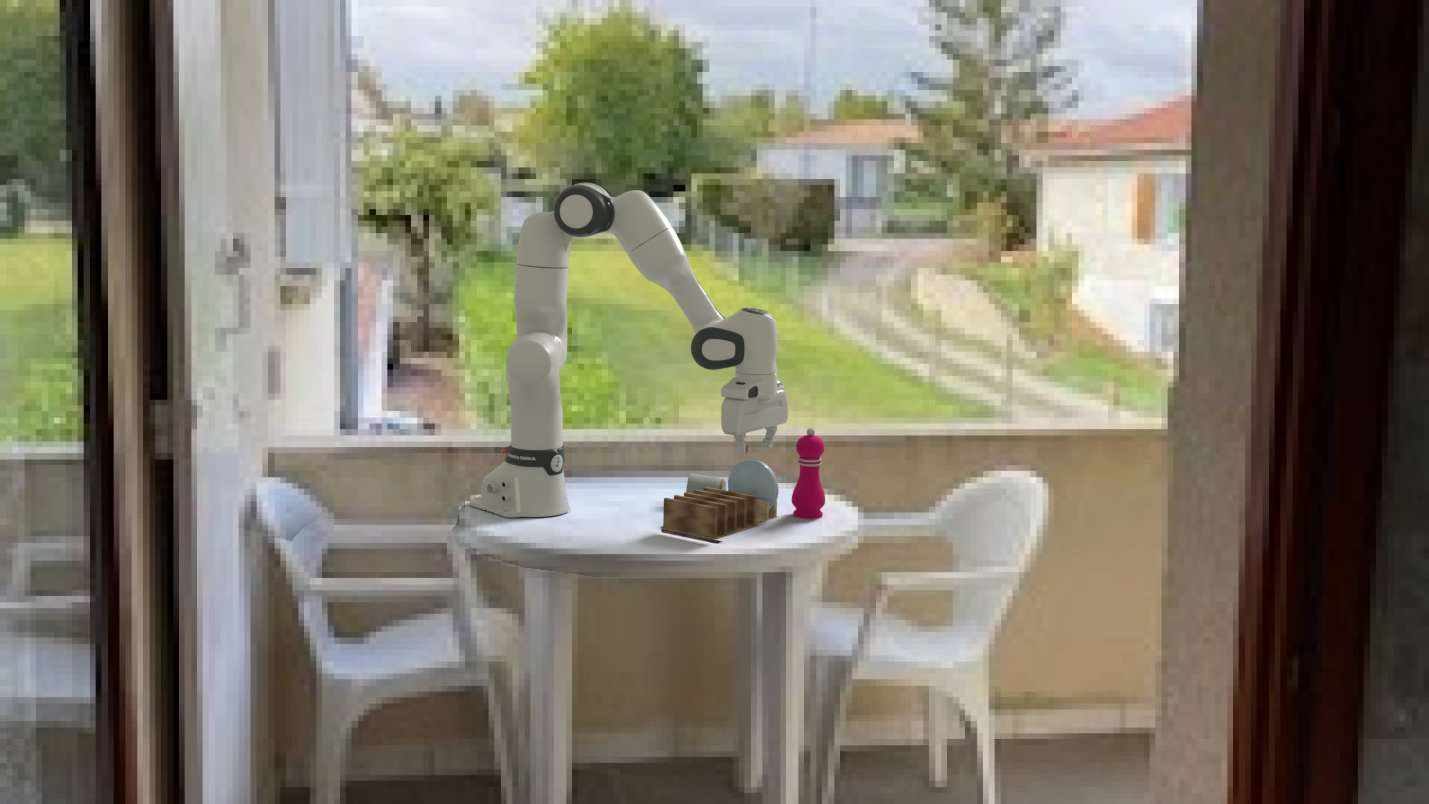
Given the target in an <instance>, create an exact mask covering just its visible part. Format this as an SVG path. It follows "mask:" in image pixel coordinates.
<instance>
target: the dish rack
mask: <svg viewBox="0 0 1429 804" xmlns="http://www.w3.org/2000/svg"><path fill="white" fill-rule="evenodd" d="M662 517H663V518H662V520H663V521H662V522H663V523H662V525H663V526H662V525H661V529H660V531H661V533H663V534H668V535H673V536H678V537H682V538H687V539H693V540H698V541H702V542H707V543H709V544H716V545H718V544H720V543H723V542H724V541H723V540H718V539H721V538H724V537H727V536H730V535H733V534H737V533H739V532H742V531H743V532H744V531H746V530H748V529H751V528H755V527H758V524H756V521H757V520H756V496H753V495H748V494H742V493H737V492H731V491H728V490H727V489H726V490H720V489H715V488H709V487H703V491H702V490H694V493H688V492H686V491H685V492H683V495H679V494H674V495H673V498H670V497H663V516H662Z"/></svg>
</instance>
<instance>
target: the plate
mask: <svg viewBox="0 0 1429 804" xmlns="http://www.w3.org/2000/svg"><path fill="white" fill-rule="evenodd" d="M727 491H731V492H737V493H742V494H748V495H753V496H756V499H759V500H765V501H769V511H770V510H771V509H772V508H773V507H774V505H775V503H776V501H777V502H778V497H779V483H778V479H777V476H776V474H775V472H774V471H773V469H772V468H771V467H770V466H769V465H768V464H767V463H765V462H763V461H762V460H760V459H756V458H754V459H753V458H751V459H750V458H749V459H746V460H742V461H739V462H738V463H736V465H735V466H734V467H732V469H731V471H730V473H729V475H728V479H727Z"/></svg>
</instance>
